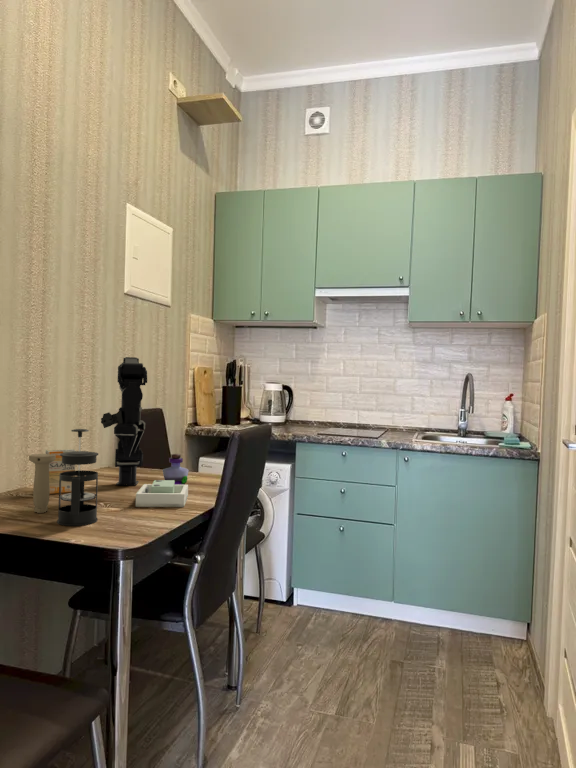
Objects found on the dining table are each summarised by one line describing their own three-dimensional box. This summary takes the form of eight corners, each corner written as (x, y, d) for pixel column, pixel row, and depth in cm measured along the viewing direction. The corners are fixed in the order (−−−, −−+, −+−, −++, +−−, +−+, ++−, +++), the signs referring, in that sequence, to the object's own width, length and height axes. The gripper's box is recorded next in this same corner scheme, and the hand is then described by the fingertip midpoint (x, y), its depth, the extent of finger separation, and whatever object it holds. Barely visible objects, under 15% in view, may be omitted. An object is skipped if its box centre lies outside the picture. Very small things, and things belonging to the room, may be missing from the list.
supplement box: (46, 494, 167) (47, 451, 167) (43, 491, 171) (45, 449, 171) (75, 492, 171) (76, 450, 171) (71, 489, 175) (73, 448, 175)
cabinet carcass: (143, 495, 169) (143, 484, 169) (187, 496, 170) (188, 484, 170) (135, 506, 155) (135, 493, 155) (183, 506, 156) (184, 494, 156)
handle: (49, 514, 143) (51, 456, 143) (24, 514, 143) (26, 456, 143) (56, 510, 148) (58, 454, 148) (32, 509, 148) (33, 453, 148)
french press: (60, 516, 141) (63, 427, 141) (99, 515, 144) (101, 427, 144) (53, 528, 130) (55, 431, 130) (95, 527, 132) (97, 431, 132)
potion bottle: (184, 494, 173) (185, 456, 173) (157, 493, 174) (158, 455, 173) (191, 489, 182) (192, 452, 182) (165, 488, 182) (166, 451, 182)
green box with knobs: (154, 495, 167) (154, 479, 167) (174, 495, 168) (174, 479, 168) (151, 502, 157) (151, 486, 157) (172, 502, 158) (172, 486, 158)
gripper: (110, 402, 176) (109, 451, 176) (96, 404, 157) (94, 459, 157) (146, 403, 177) (144, 451, 177) (136, 405, 158) (134, 460, 158)
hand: (129, 455), depth 167 cm, fingers open, 9 cm apart
